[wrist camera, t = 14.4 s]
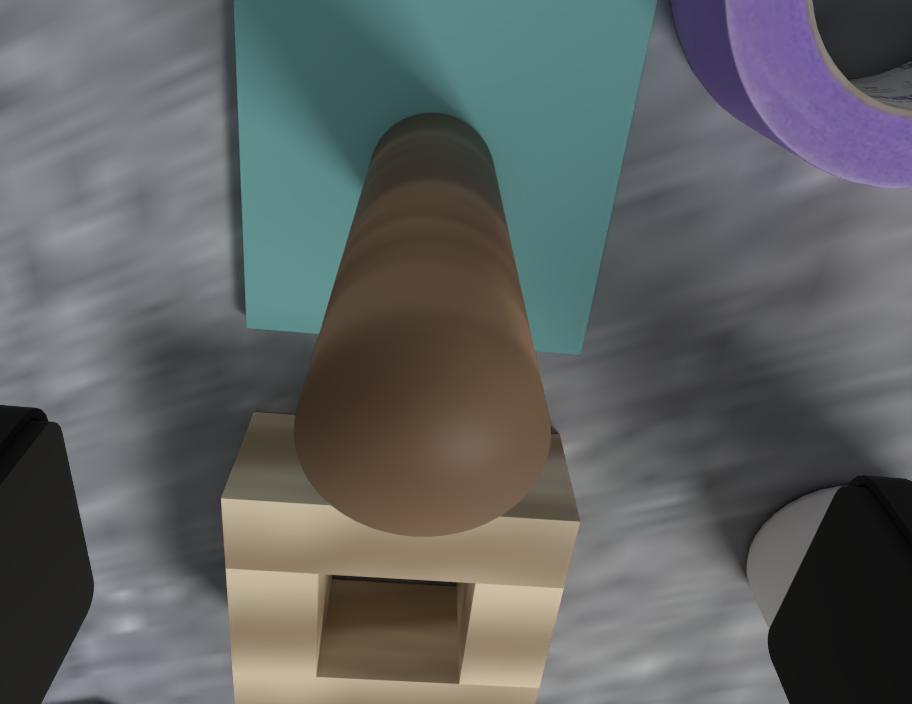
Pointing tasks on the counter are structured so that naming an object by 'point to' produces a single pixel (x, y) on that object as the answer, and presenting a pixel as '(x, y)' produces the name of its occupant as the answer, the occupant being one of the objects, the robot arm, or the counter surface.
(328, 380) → the walnut peg
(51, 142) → the counter surface
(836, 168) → the tape roll
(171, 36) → the counter surface
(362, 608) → the eye block
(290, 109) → the teal mat
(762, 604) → the milk bottle
